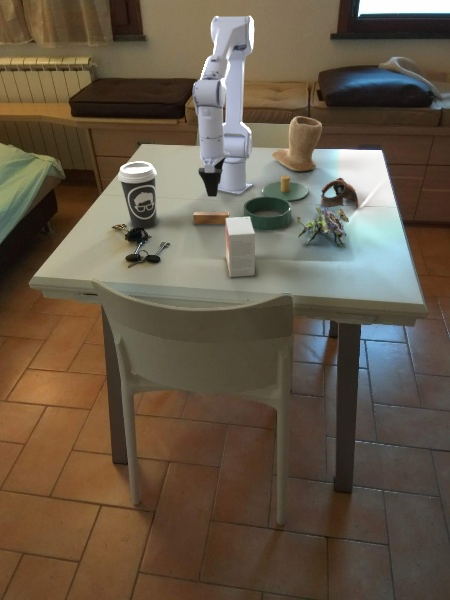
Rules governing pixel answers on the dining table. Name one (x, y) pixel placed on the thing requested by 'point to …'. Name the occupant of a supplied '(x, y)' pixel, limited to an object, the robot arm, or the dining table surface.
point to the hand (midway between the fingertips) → (214, 189)
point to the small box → (240, 246)
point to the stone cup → (300, 144)
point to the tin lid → (285, 190)
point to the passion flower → (326, 225)
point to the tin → (268, 221)
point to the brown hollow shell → (339, 193)
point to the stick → (210, 217)
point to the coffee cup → (139, 192)
